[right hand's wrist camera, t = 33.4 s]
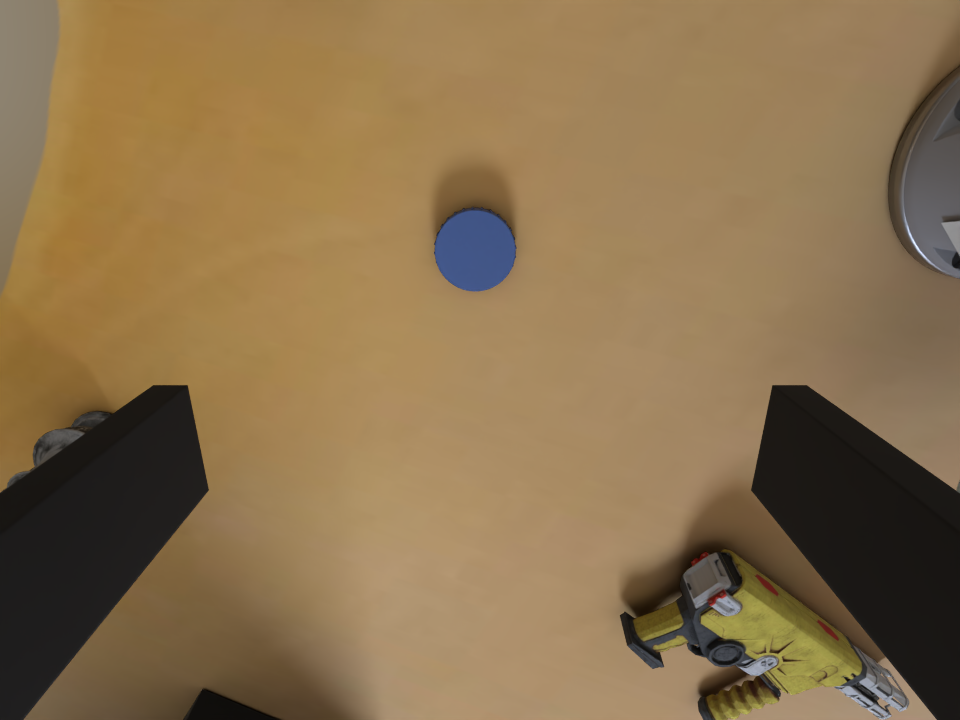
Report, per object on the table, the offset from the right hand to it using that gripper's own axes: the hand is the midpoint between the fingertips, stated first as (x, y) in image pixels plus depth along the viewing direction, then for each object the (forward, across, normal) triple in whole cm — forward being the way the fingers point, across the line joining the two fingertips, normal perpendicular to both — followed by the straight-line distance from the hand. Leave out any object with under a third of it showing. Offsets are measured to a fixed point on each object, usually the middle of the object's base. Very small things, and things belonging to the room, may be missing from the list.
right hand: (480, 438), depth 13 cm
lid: (+26, 0, 0) cm, 26 cm away
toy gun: (+28, -24, +37) cm, 52 cm away
